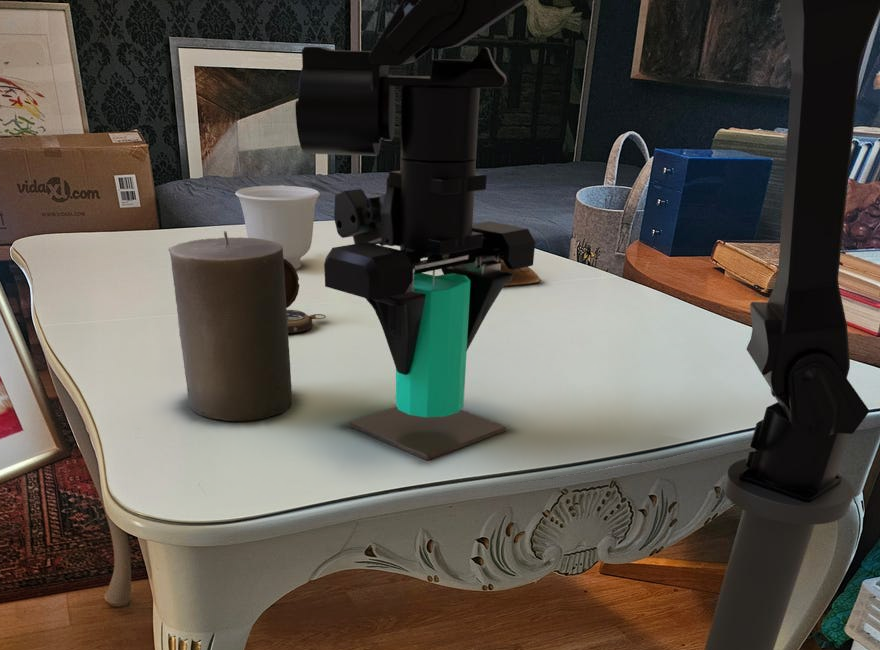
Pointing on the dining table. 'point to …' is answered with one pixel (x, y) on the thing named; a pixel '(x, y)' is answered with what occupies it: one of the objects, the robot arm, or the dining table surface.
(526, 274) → the sunglasses case
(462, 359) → the candle
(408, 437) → the mat
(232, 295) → the pillar candle
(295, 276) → the compass
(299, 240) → the teacup
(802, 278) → the robot arm
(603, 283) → the dining table surface
